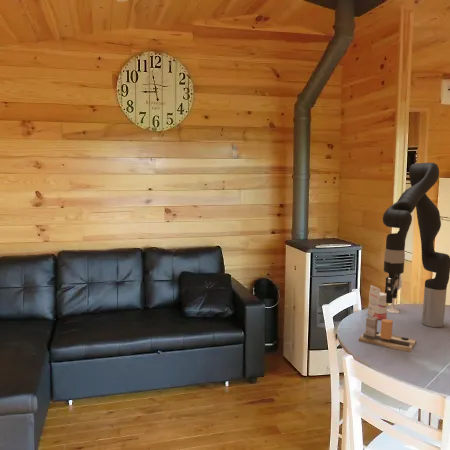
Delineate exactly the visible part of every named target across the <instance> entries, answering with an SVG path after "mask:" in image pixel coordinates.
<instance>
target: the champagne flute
mask: <svg viewBox="0 0 450 450" xmlns="http://www.w3.org/2000/svg"><path fill="white" fill-rule="evenodd" d="M388 284H389V283H388ZM401 288H402V274H400V279H399V287H398V289H397V292H398V291H399V290H401ZM395 300H396V298H392V303H391V306H390V307H387V311H388V312H387V313H390V312H391V313H392V314H399V313H400V310H399V309H397V308H395ZM391 313H390V314H391Z"/></svg>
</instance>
